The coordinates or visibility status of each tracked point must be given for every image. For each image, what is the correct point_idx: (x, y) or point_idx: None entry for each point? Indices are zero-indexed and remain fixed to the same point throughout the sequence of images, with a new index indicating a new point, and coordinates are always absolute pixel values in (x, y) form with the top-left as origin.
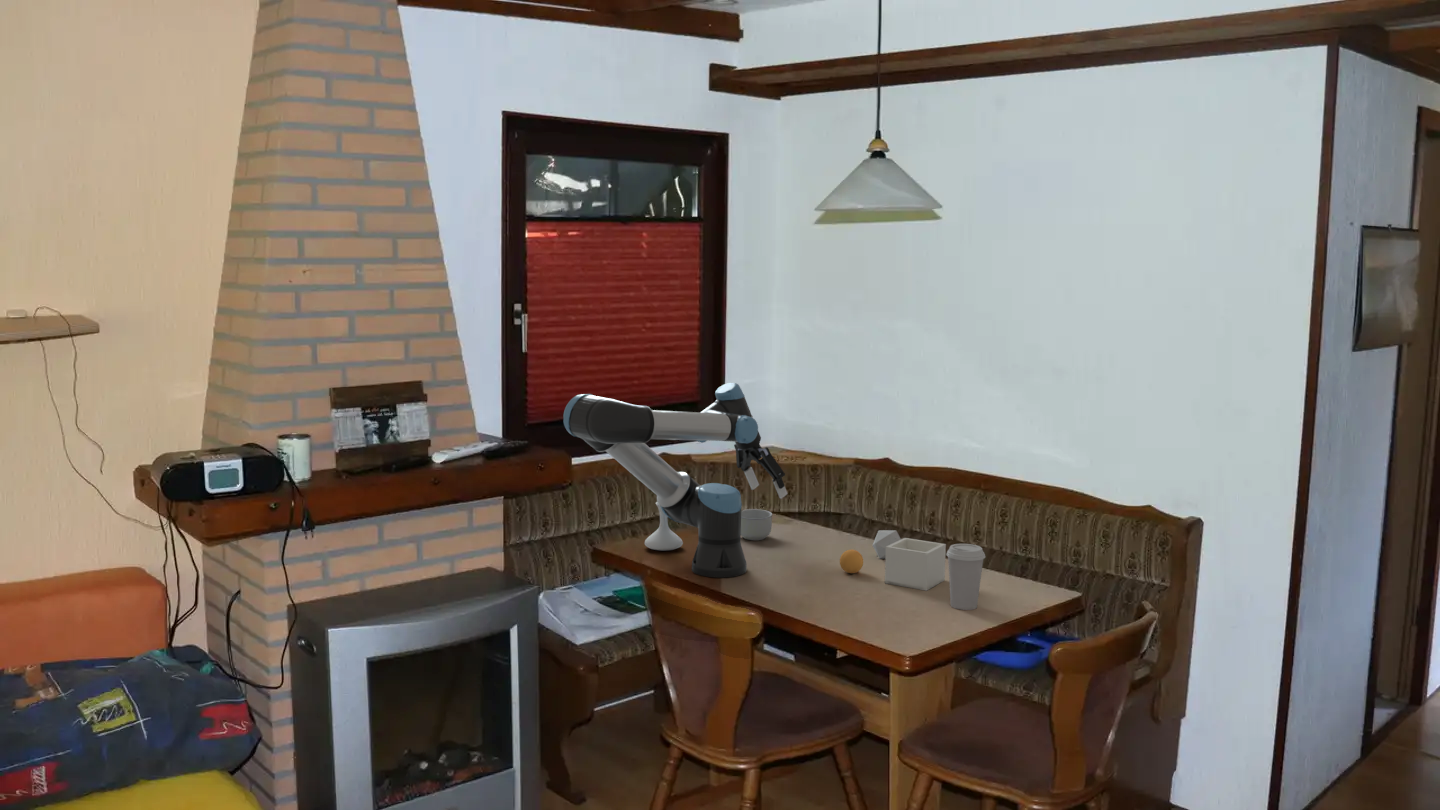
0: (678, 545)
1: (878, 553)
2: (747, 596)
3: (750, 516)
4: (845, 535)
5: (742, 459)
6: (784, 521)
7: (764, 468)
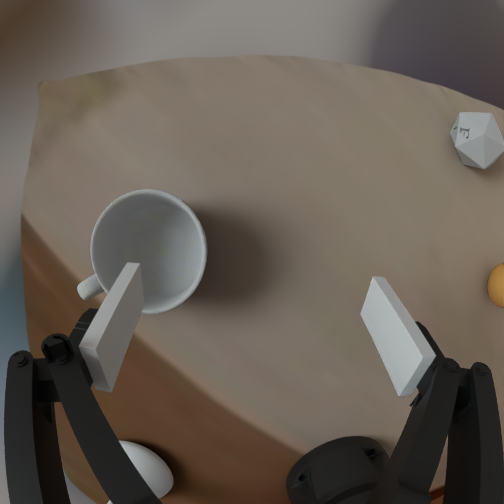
0: (170, 471)
1: (470, 165)
2: (443, 477)
3: (108, 228)
4: (291, 60)
5: (44, 428)
6: (100, 83)
7: (387, 468)
